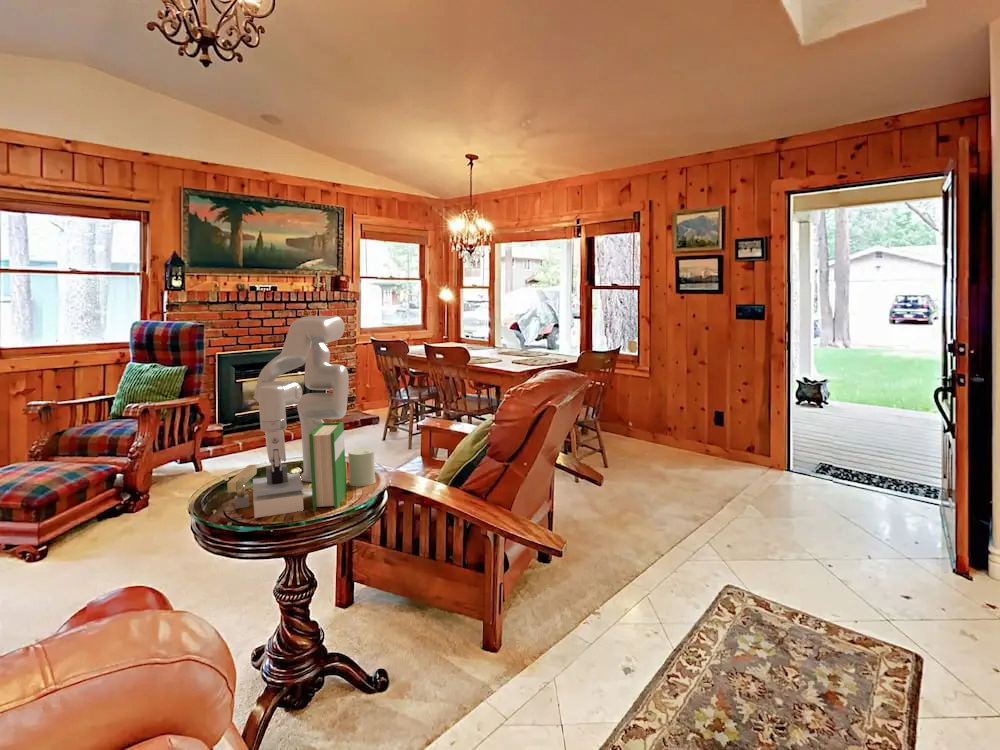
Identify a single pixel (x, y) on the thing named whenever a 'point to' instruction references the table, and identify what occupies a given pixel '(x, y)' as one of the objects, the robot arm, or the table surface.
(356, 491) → the table surface
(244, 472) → the tan wooden plank
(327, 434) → the hardback book
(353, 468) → the can
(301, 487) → the snap lid
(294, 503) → the box
